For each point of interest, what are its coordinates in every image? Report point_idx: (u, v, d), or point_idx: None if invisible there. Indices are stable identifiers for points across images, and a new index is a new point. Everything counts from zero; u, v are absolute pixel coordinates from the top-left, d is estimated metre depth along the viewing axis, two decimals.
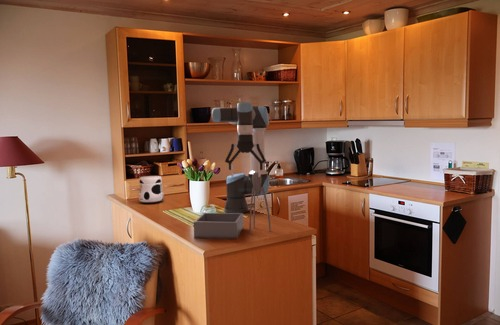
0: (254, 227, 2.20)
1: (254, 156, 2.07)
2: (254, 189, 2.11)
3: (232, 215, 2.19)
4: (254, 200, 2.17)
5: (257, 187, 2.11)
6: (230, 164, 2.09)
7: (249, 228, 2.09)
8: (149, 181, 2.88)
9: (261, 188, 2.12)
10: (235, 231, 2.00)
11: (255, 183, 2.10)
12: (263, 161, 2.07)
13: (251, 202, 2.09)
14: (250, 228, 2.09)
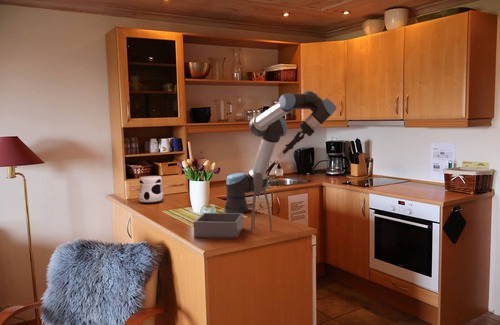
0: (254, 227, 2.20)
1: None
2: (256, 189, 2.10)
3: (232, 215, 2.19)
4: (254, 200, 2.17)
5: (259, 187, 2.11)
6: (288, 149, 2.01)
7: (251, 228, 2.09)
8: (149, 181, 2.88)
9: (262, 188, 2.12)
10: (235, 231, 2.00)
11: (257, 183, 2.10)
12: (292, 146, 2.17)
13: (253, 203, 2.09)
14: (252, 228, 2.09)
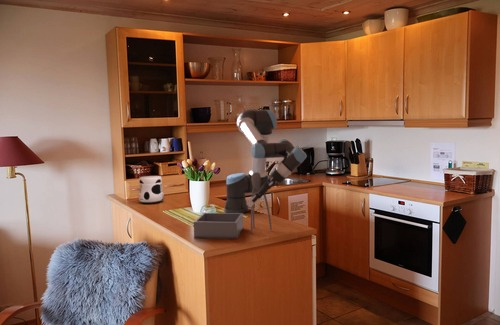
0: (254, 227, 2.20)
1: None
2: (254, 189, 2.10)
3: (232, 215, 2.19)
4: None
5: (257, 187, 2.10)
6: (257, 198, 2.05)
7: (251, 229, 2.09)
8: (149, 181, 2.88)
9: (261, 188, 2.12)
10: (235, 231, 2.00)
11: (255, 183, 2.10)
12: None
13: None
14: (252, 229, 2.09)
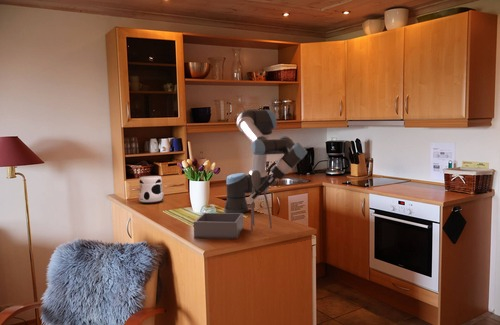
0: (254, 224, 2.19)
1: None
2: (254, 188, 2.08)
3: (232, 215, 2.19)
4: None
5: (257, 185, 2.09)
6: (257, 195, 2.05)
7: (251, 227, 2.08)
8: (149, 181, 2.88)
9: None
10: (235, 231, 2.00)
11: (255, 182, 2.08)
12: None
13: None
14: (252, 227, 2.08)
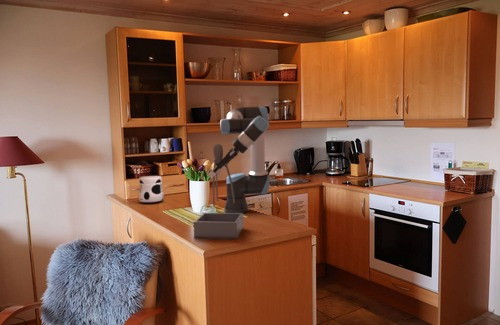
0: (217, 200, 2.16)
1: (229, 160, 2.11)
2: (216, 161, 2.06)
3: (232, 215, 2.19)
4: None
5: (219, 159, 2.06)
6: (219, 168, 2.03)
7: (213, 201, 2.05)
8: (149, 181, 2.88)
9: None
10: (235, 231, 2.00)
11: (217, 155, 2.05)
12: None
13: None
14: (214, 201, 2.05)
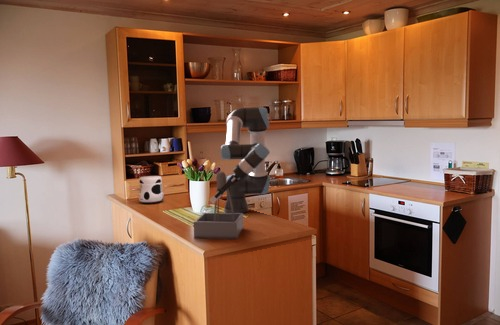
0: None
1: None
2: None
3: None
4: (218, 200, 2.14)
5: (221, 187, 2.08)
6: (220, 194, 2.02)
7: None
8: (149, 181, 2.88)
9: None
10: (235, 231, 2.00)
11: (219, 183, 2.08)
12: (229, 187, 2.18)
13: (215, 202, 2.07)
14: None
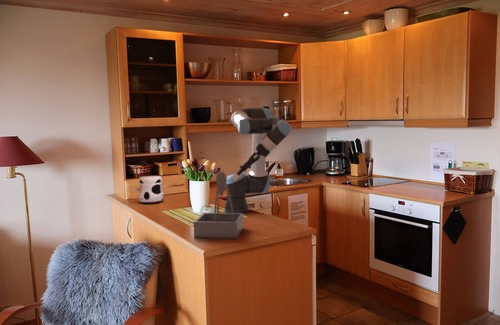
0: None
1: (252, 163, 2.10)
2: (218, 189, 2.08)
3: None
4: (218, 200, 2.14)
5: (221, 187, 2.08)
6: (242, 171, 1.99)
7: None
8: (149, 181, 2.88)
9: (225, 188, 2.10)
10: (235, 231, 2.00)
11: (219, 183, 2.08)
12: None
13: (215, 202, 2.07)
14: None
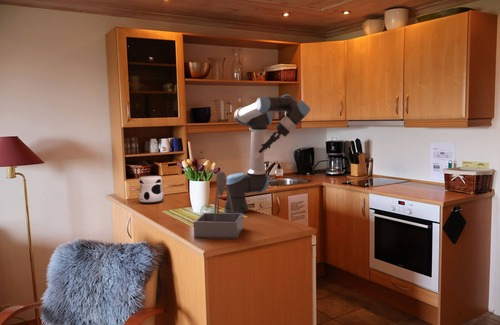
0: None
1: None
2: (218, 189, 2.08)
3: None
4: (218, 200, 2.14)
5: (221, 187, 2.08)
6: (264, 149, 2.11)
7: None
8: (149, 181, 2.88)
9: (225, 188, 2.10)
10: (235, 231, 2.00)
11: (219, 183, 2.08)
12: (269, 145, 2.27)
13: (215, 202, 2.07)
14: None
